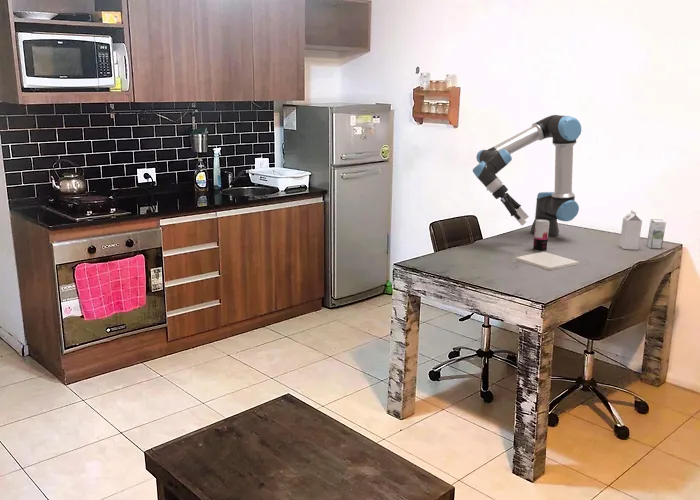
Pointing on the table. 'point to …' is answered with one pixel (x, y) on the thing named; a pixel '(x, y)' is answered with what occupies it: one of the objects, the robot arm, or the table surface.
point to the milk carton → (630, 231)
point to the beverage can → (541, 235)
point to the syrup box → (656, 233)
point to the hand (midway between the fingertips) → (525, 221)
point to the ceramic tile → (547, 260)
